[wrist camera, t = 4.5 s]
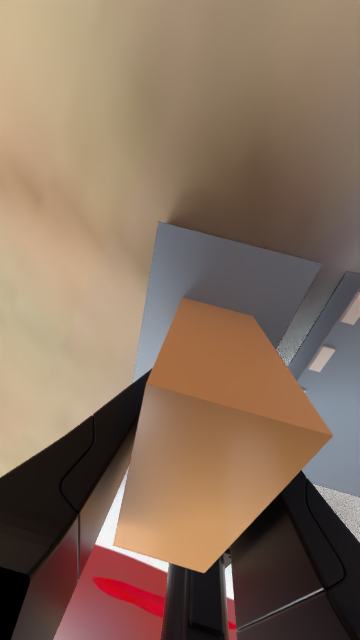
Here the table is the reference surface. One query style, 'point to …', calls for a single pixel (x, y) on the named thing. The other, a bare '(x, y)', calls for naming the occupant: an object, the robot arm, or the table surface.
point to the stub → (214, 397)
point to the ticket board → (335, 386)
